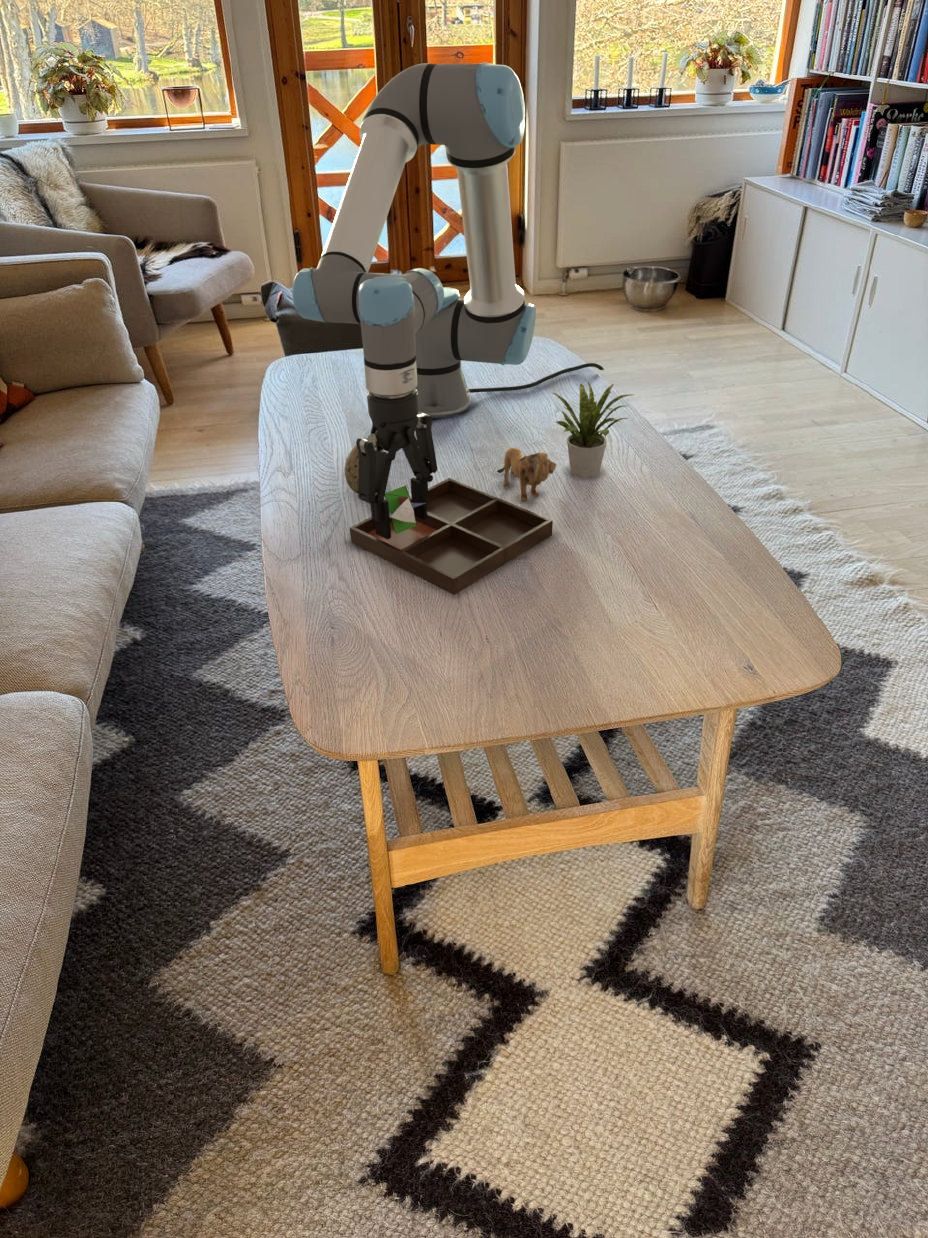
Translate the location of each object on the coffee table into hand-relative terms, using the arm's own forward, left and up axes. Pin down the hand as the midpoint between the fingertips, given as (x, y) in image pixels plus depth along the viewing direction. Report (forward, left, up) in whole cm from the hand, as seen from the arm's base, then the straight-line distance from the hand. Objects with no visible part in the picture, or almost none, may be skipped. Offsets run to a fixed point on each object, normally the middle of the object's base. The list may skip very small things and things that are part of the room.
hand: (402, 525), depth 151 cm
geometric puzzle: (0, 0, 0) cm, 0 cm away
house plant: (-39, +9, -3) cm, 40 cm away
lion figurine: (-26, +4, -3) cm, 27 cm away
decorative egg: (-7, -16, -3) cm, 18 cm away
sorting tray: (-6, +6, -3) cm, 8 cm away
